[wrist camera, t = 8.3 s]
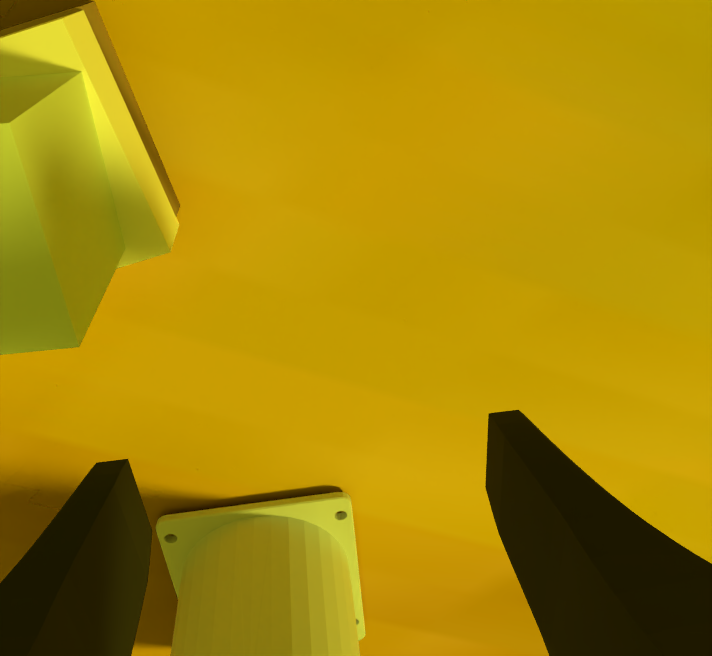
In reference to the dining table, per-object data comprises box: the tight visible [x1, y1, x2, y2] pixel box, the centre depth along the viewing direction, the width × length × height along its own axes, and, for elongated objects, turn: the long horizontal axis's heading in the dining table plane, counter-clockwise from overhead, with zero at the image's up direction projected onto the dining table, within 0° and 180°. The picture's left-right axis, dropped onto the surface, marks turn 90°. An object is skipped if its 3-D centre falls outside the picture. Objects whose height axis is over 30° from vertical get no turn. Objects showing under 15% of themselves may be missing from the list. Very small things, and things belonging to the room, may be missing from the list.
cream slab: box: [0, 10, 179, 268], centre depth 18 cm, size 6×6×2 cm
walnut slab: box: [0, 1, 180, 216], centre depth 19 cm, size 6×6×2 cm
